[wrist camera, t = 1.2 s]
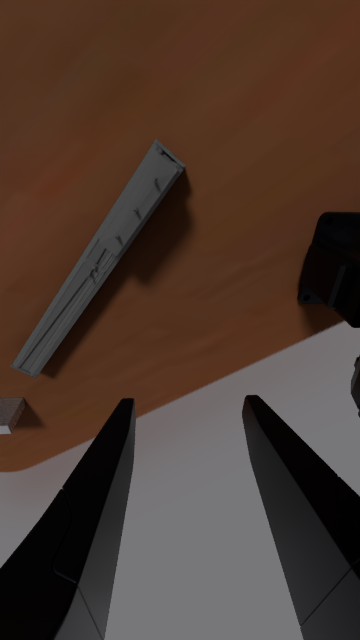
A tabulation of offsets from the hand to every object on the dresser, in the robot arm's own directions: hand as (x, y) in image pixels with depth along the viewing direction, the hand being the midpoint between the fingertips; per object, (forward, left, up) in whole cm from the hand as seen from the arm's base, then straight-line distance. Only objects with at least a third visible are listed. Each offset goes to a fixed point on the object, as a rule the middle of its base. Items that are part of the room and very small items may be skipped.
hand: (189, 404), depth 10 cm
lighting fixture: (+6, 0, -12) cm, 14 cm away
